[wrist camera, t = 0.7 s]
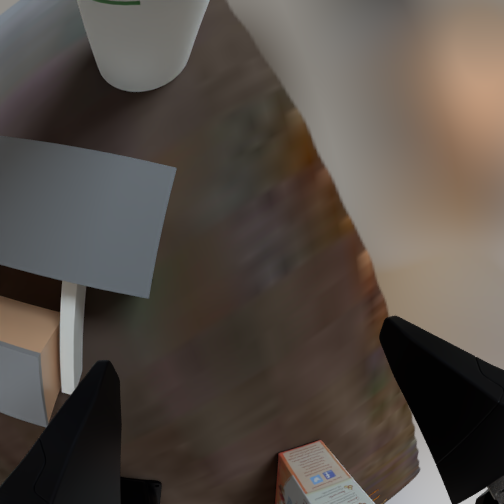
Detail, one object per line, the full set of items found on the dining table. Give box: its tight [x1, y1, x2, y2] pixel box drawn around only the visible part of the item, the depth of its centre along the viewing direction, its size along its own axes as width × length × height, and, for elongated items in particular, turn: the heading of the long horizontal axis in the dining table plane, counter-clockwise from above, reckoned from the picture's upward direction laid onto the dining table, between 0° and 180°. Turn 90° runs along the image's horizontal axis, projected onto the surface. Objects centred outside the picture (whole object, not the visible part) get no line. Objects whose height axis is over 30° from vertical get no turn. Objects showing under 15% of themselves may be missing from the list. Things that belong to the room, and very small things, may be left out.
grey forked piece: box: [0, 136, 177, 394], centre depth 14 cm, size 16×20×5 cm
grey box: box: [0, 296, 61, 427], centre depth 14 cm, size 6×8×7 cm
